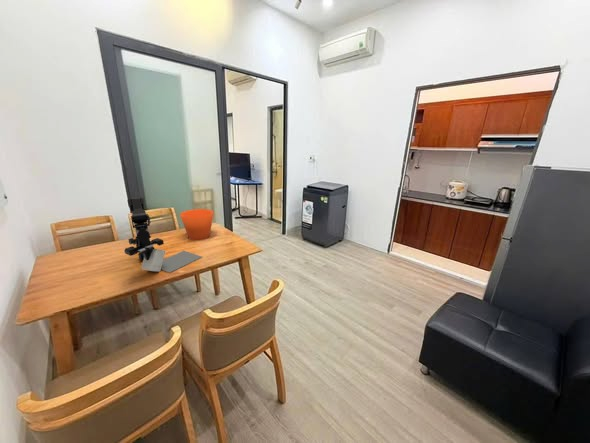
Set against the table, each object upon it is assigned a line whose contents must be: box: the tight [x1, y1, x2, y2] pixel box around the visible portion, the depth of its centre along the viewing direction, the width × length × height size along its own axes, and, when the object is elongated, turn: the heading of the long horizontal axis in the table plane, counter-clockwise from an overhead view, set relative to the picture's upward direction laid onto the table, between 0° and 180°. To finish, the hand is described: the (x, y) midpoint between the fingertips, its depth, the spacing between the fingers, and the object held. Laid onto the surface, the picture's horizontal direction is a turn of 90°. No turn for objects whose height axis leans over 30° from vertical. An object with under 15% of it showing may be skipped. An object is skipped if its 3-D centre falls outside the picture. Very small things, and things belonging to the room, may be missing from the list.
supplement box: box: [140, 248, 166, 273], centre depth 141 cm, size 7×7×13 cm
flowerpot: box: [179, 208, 215, 241], centre depth 192 cm, size 25×25×20 cm
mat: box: [160, 250, 203, 274], centre depth 154 cm, size 24×18×1 cm
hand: (147, 259), depth 136 cm, fingers closed
